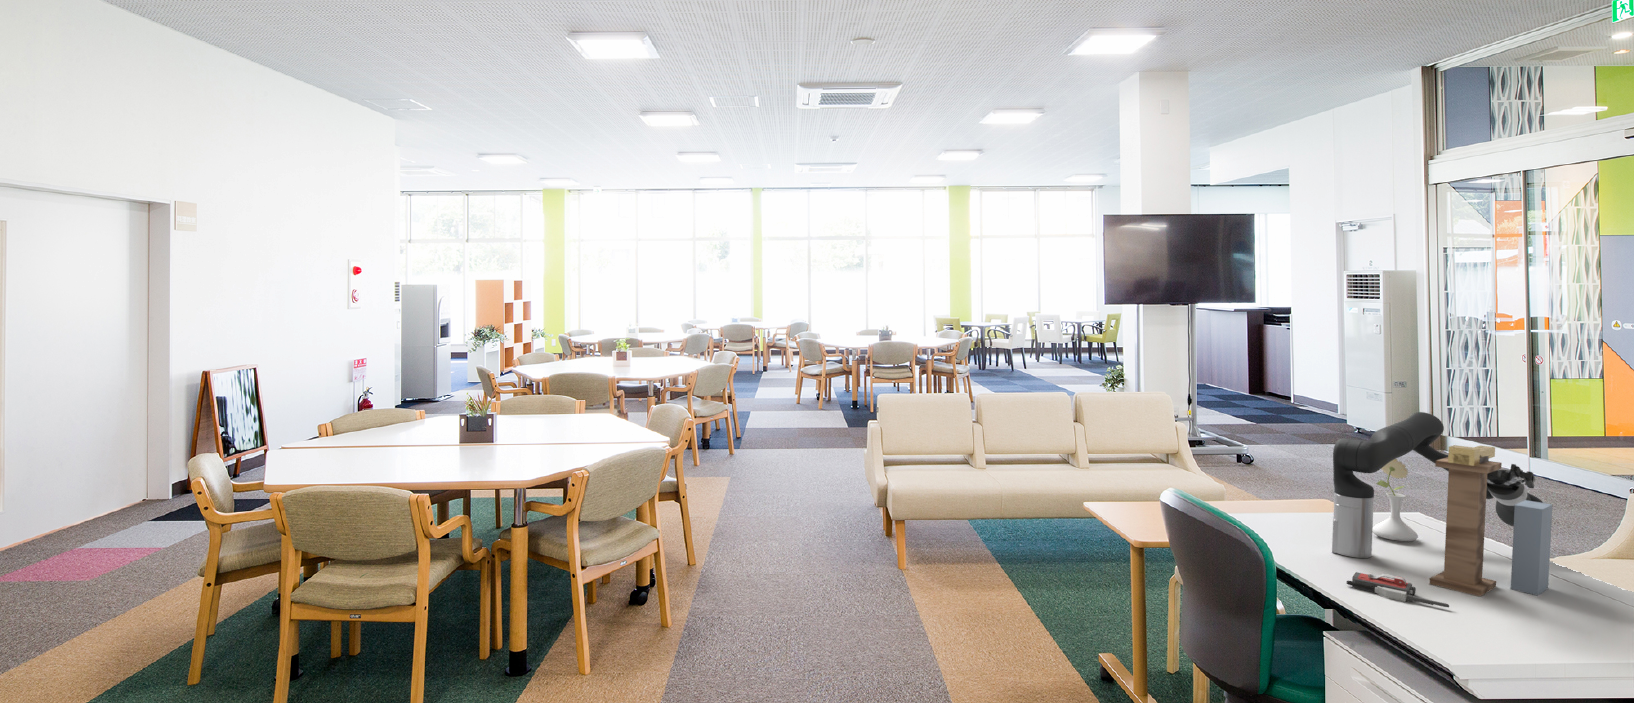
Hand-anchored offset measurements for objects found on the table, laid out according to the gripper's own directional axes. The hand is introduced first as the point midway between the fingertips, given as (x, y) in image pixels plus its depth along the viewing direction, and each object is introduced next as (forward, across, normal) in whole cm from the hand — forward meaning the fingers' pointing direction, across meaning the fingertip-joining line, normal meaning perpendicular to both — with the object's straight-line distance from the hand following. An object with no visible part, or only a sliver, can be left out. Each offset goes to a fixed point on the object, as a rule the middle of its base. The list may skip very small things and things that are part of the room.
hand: (1491, 464), depth 194 cm
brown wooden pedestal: (+1, 0, +34) cm, 35 cm away
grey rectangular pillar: (-9, +10, +29) cm, 32 cm away
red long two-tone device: (+20, -7, +46) cm, 50 cm away
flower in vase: (-28, -26, +18) cm, 42 cm away
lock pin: (+14, 0, +5) cm, 14 cm away
